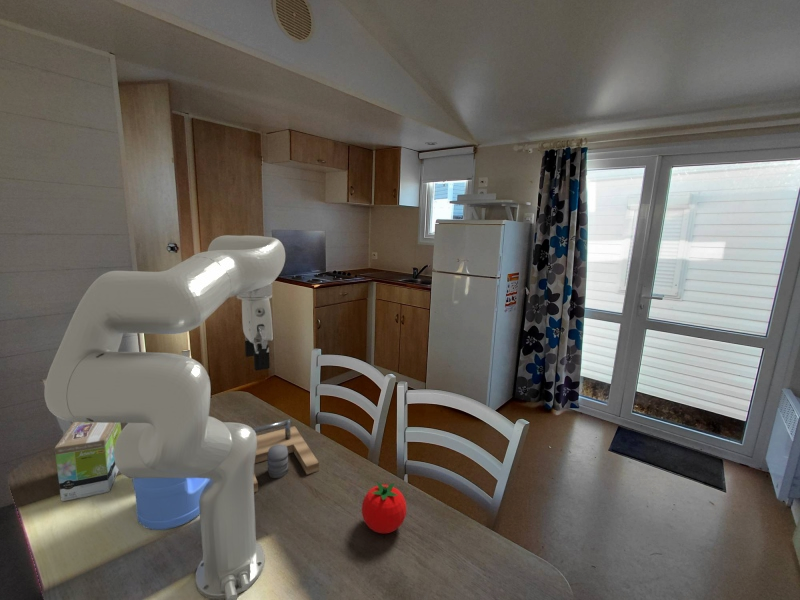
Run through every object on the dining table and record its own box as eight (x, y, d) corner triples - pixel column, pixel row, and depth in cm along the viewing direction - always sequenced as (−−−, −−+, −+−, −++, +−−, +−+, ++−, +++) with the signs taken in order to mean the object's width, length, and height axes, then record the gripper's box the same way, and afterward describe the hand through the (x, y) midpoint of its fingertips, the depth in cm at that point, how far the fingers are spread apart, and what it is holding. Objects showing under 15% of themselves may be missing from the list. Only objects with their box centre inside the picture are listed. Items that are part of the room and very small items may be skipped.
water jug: (136, 543, 79) (122, 424, 73) (138, 497, 92) (126, 393, 86) (216, 514, 88) (209, 406, 82) (208, 476, 100) (201, 380, 95)
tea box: (111, 492, 93) (104, 439, 90) (60, 503, 89) (51, 448, 86) (125, 457, 107) (119, 410, 104) (81, 466, 102) (73, 417, 99)
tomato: (376, 502, 94) (377, 468, 91) (413, 519, 89) (415, 482, 87) (352, 532, 84) (353, 494, 82) (392, 552, 80) (394, 512, 78)
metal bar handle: (293, 441, 114) (293, 423, 112) (245, 455, 106) (244, 435, 105) (290, 436, 116) (290, 418, 115) (242, 449, 109) (242, 430, 107)
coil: (290, 474, 103) (290, 452, 101) (271, 481, 100) (270, 458, 98) (285, 463, 107) (284, 442, 106) (266, 469, 104) (265, 447, 103)
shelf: (318, 470, 105) (318, 462, 104) (243, 496, 94) (243, 487, 93) (294, 432, 123) (294, 425, 122) (229, 450, 112) (229, 443, 111)
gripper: (282, 296, 79) (283, 372, 82) (262, 284, 93) (264, 349, 96) (244, 299, 75) (247, 378, 78) (230, 285, 89) (233, 353, 92)
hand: (257, 362), depth 87 cm, fingers open, 9 cm apart
